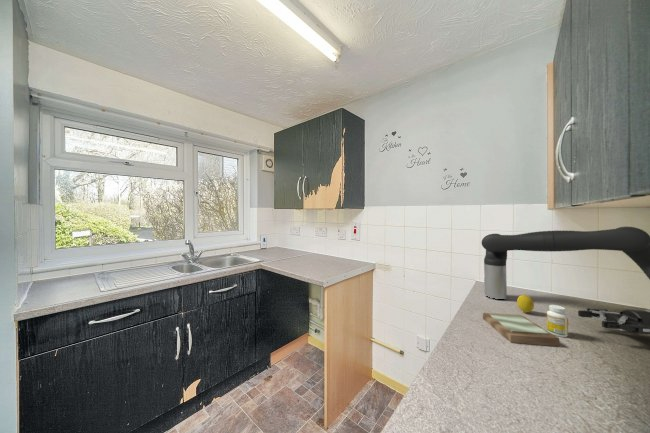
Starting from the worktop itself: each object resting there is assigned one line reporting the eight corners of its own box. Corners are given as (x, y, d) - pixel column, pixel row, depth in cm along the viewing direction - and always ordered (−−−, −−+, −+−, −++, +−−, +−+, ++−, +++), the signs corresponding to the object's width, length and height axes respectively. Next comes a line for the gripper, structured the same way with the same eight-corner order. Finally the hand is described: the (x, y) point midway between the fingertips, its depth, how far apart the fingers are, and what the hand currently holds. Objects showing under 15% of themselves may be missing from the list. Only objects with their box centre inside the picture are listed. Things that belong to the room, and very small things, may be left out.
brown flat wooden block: (482, 318, 93) (482, 311, 93) (521, 321, 91) (521, 313, 91) (510, 342, 75) (510, 333, 75) (559, 346, 73) (559, 336, 73)
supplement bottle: (559, 338, 78) (558, 310, 78) (542, 330, 83) (542, 304, 83) (573, 337, 78) (572, 309, 78) (555, 329, 84) (555, 303, 84)
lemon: (534, 316, 94) (534, 297, 94) (517, 313, 98) (517, 295, 98) (533, 312, 99) (532, 294, 99) (516, 309, 102) (516, 291, 102)
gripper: (623, 303, 83) (571, 300, 86) (675, 320, 69) (612, 316, 72) (623, 323, 83) (572, 320, 86) (676, 344, 69) (612, 340, 72)
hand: (590, 318), depth 79 cm, fingers open, 8 cm apart
